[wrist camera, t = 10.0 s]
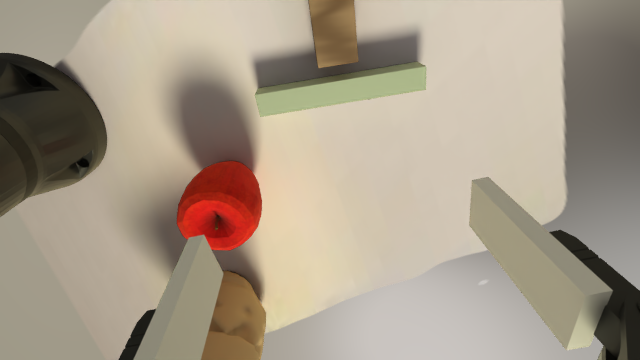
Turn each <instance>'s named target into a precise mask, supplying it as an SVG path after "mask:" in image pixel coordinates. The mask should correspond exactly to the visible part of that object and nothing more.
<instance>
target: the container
mask: <svg viewBox="0 0 640 360" xmlns="http://www.w3.org/2000/svg"><path fill="white" fill-rule="evenodd" d="M223 273H224V274H223V278H222V282H221V286H220V289H219V293H218V297H217V301H216V304H215V308H214V312H213V316H212V319H211V323H210V327H209V331H208V335H207V338H206V342H205V346H204V350H203V353H202V357H201V360H260V359H261V355H262V349H263V342H264V332H265V327H266V312H265V310H264V308H263V306H262V305H261V303H260V302H259V300H258V298H257V296H256V294H255V292H254V290H253V288H252V286H251V284H250V283H249V282H248V281H247V280H246V279H245V278H243V277H241V276H239V275H238V274H237V273H232V272H230V271H223Z"/></svg>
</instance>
